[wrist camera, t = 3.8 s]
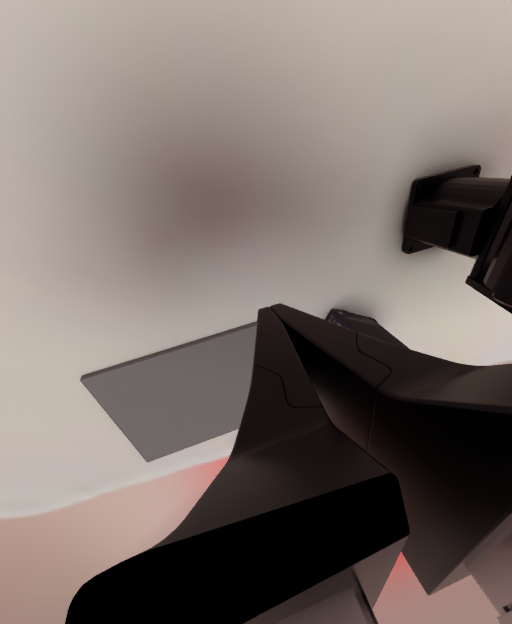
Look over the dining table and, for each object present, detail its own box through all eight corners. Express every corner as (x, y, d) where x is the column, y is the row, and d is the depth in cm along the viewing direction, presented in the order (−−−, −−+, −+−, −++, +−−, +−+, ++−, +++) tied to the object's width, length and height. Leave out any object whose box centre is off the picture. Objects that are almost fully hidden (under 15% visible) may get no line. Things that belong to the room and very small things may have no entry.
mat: (277, 315, 24) (279, 318, 24) (290, 405, 32) (292, 408, 31) (81, 376, 21) (80, 380, 21) (147, 458, 29) (147, 462, 29)
